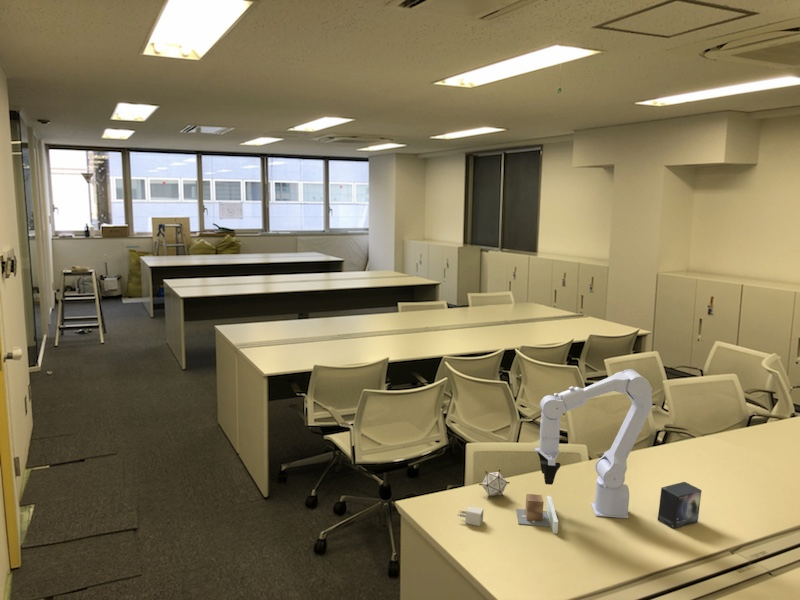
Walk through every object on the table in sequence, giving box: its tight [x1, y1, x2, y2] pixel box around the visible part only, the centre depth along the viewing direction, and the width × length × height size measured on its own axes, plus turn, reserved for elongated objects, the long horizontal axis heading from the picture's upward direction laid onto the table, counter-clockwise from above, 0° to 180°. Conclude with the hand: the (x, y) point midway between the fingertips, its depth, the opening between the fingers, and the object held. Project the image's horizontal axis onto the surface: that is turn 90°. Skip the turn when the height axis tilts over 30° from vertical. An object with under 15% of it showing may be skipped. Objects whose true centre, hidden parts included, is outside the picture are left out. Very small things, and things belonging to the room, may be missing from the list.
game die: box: [478, 468, 511, 499], centre depth 197 cm, size 9×8×10 cm
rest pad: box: [515, 508, 551, 528], centre depth 184 cm, size 9×9×1 cm
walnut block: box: [525, 493, 545, 521], centre depth 183 cm, size 4×4×6 cm
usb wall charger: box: [457, 505, 484, 527], centre depth 180 cm, size 4×7×4 cm, turn 70°
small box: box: [657, 481, 703, 530], centre depth 183 cm, size 11×6×10 cm, turn 117°
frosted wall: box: [545, 495, 559, 535], centre depth 183 cm, size 1×16×4 cm, turn 173°
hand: (547, 478), depth 188 cm, fingers open, 7 cm apart
